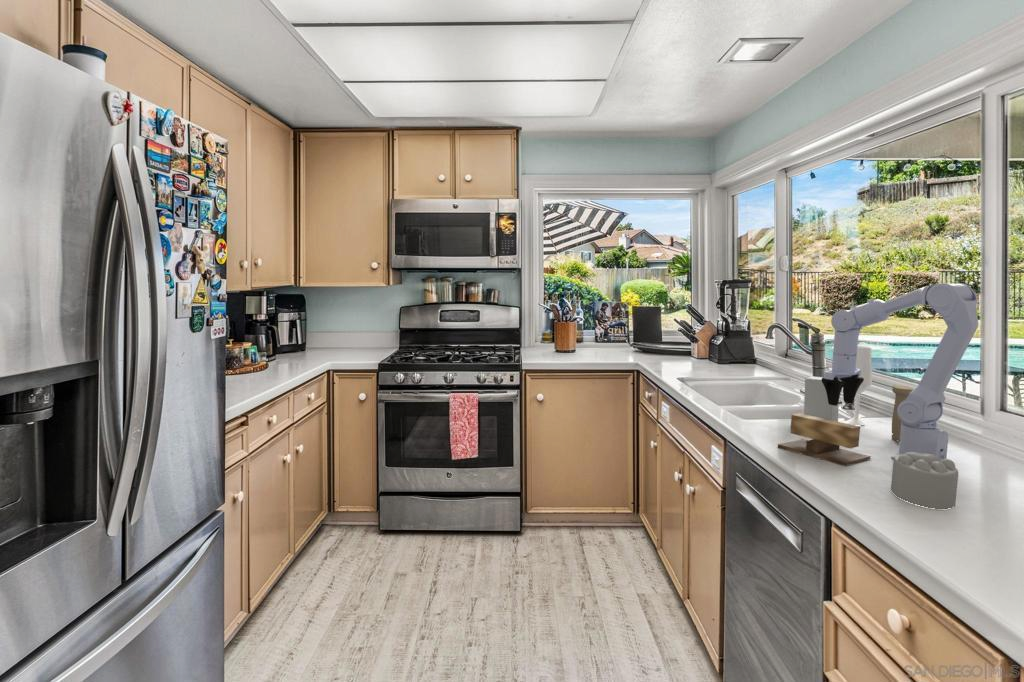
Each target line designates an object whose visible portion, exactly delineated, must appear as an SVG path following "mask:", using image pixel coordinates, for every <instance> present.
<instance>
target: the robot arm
mask: <svg viewBox="0 0 1024 682" xmlns="http://www.w3.org/2000/svg"><path fill="white" fill-rule="evenodd" d="M978 302H979V297H978V295H977V294H976V292H975V291H974V290H973V288H972V287H971V286H969V285H968V284H966V283H961V282H960V283H958V282H957V283H946V282H938V283H936V284H933V285H927V286H923V287H919V288H918V289H915V290H912V291H910V292H907V293H904V294H901V295H899V296H897V297H894V298H892V299H889V300H887V301H884V300H881V299H879V298H878V299H875V298H870V299H867V301H866V303H862V304H859V305H851V306H850V309H849V310H847V309H839V310H838V311H836V312H835V313H833V314H832V317H831V320H830V321H831V327H832V328H833V329H834V336H833V339H834V340H833V349H832V353H833V354H832V362H831V367H830V368H827V371H824V377H823V378H822V383H823V385H824V387H825V389H826V393H827V398H828V403H829V405H834V406H837V405H838V402H840V397H841V392H843V393H842V395H843V397H842V398H843V402H844V403H848V404H853V402H854V401H855V399H856V392H857V390H858V388H859V386H860V385H861V383H862V382H863V381H864V378H862V377H858V376H861V369H856V360H857V348H858V346H859V336H860V332H861V330H862V329H863V328H865V327H868V326H872V325H874V324H878V323H882V322H884V321H886V320H888V319H889V317H890V315H891V314H894V313H896V312H897V313H898V312H899V311H904V310H907V309H911V308H913V307H917V306H921V305H922V306H930V308H931V309H933V310H934V311H935V313H937V314H938V315H939V316H941V318H942V319H943V322H945V324H946V326H947V328H946V329H945V331H944V333H943V335H942V338H941V340H940V342H939V344H938V345H937V348H936V349H935V351H934V354H933V355H932V357H931V359H930V361H929V363H928V365H927V367H926V369H925V371H924V373H923V375H922V377H921V379H920V382H919V384H918V385H917V386H916V387H914V390H913V391H912V392H910V393H909V395H908V397H907V399H906V400H904V401H903V402H901V403H900V404H899V406H898V408H897V414H898V417H899V418H900V420H901V421H902V422H901V433H900V441H899V444H898V453H897V454H893V455H891V456H890V458H891V459H894V456H896V455H903V454H905V453H907V452H915V453H921V454H933V455H935V456H936V457H938V458H939V459H940V460H943V459H947V455H948V445H949V434H948V432H947V431H946V430H943V429H939V428H938V425H937V421H938V420H940V419H941V418H942V416H943V414H944V403H945V401H946V396H945V394H944V393H945V390H946V389H947V387H948V385H949V383H950V381H951V379H952V377H953V375H954V373H955V372H956V369H957V367H958V366H959V364H960V362H961V360H962V359H963V356H964V354H965V352H966V351H967V349H968V347H969V344H970V342H971V341H972V340H973V337H974V335H975V333H976V331H977V330H978V327H979V319H978V317H979V316H978V309H977V306H978V305H977V304H978ZM838 379H839V380H838ZM842 389H843V391H842Z"/></svg>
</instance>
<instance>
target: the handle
mask: <svg viewBox="0 0 1024 682" xmlns="http://www.w3.org/2000/svg"><path fill="white" fill-rule="evenodd" d="M914 389H915V387H912V386H909V385H900V384H899V385H897V384H895V385H892V389H891V390H892V393H893V394H895V399H894V405H893V412H892V416H891V417H892V418H891V433H892V434H891V439H892V440H893V439H894V440H893V441H896V440H900V433H901V422H902V421H901V420H900V418H899V417H898V414H897V408H898V406H899V404H900V403H901V402H903V401H904V400H906V399H907V397H908V395H909V393H910V392H912V391H913V390H914Z"/></svg>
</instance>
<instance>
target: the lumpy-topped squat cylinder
mask: <svg viewBox="0 0 1024 682" xmlns="http://www.w3.org/2000/svg"><path fill="white" fill-rule="evenodd" d="M895 455H896V456H894V458H893V461H892V472H891V485H890V491H891V490H892V491H891V493H892V492H893V493H894V494H895V495H896V496H897V497H899V498H901V499H903V500H905V501H908V502H910V503H913V504H917V505H920V506H924V507H928V508H935V509H948V508H951V509H953V508H954V507H955V506H956V502H957V491H958V489H957V488H958V482H959V470H958V468H957V467H956V463H955V462H954V461H953V460H951V459H949V458H946V459H943V460H940V459H939V458H938V457H936V456H935V455H933V454H921V453H915V452H907V453H905V454H903V455H897V454H895ZM893 493H892V494H893ZM894 494H893V495H894ZM895 495H894V496H895ZM896 496H895V497H896ZM897 497H896V498H897ZM905 501H904V502H905ZM953 506H954V507H953ZM952 507H953V508H952ZM948 510H949V509H948Z"/></svg>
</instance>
